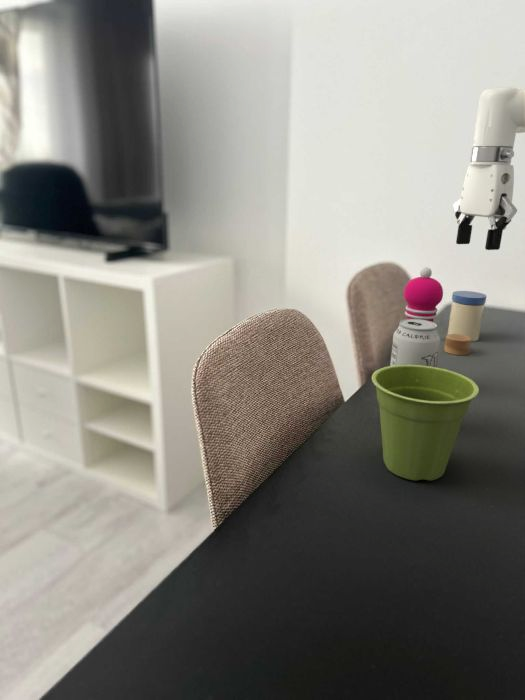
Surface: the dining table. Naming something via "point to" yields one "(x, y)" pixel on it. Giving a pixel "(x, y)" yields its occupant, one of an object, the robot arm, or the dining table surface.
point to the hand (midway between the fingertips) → (477, 246)
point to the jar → (466, 320)
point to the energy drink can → (415, 343)
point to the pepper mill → (423, 297)
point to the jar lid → (469, 297)
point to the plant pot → (420, 417)
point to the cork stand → (457, 344)
